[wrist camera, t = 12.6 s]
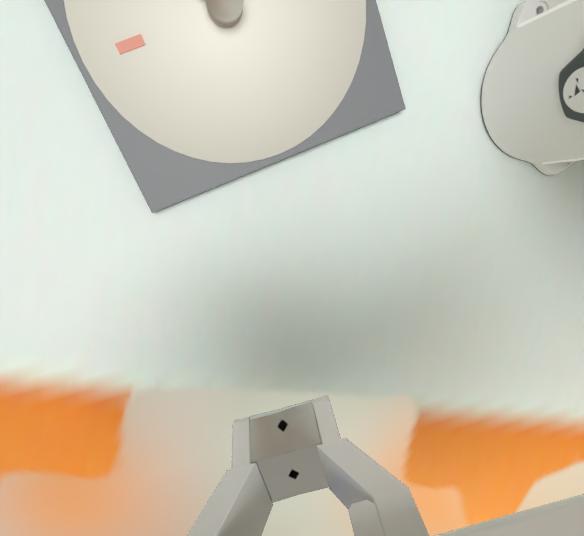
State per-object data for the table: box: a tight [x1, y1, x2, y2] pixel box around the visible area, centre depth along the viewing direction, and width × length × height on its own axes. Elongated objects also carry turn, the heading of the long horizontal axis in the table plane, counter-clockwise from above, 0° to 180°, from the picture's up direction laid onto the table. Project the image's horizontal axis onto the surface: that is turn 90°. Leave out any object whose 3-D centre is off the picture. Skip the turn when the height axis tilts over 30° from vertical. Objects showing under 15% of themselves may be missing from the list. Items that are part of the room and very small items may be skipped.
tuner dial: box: [45, 0, 405, 213], centre depth 34 cm, size 28×28×2 cm
